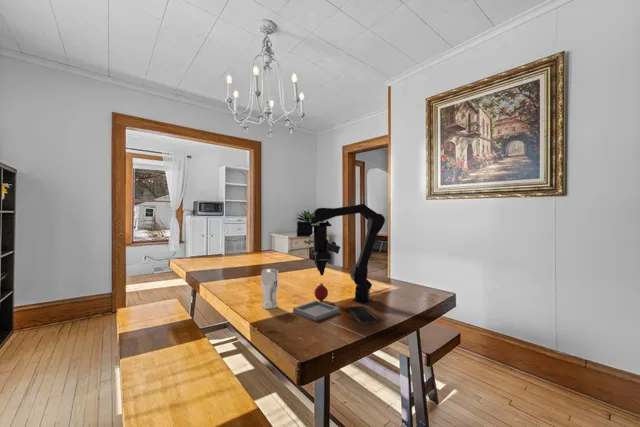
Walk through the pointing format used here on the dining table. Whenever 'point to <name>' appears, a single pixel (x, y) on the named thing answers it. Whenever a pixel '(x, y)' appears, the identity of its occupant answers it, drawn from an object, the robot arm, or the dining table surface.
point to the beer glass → (269, 288)
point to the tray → (316, 310)
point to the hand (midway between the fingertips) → (320, 272)
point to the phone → (363, 314)
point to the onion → (321, 292)
